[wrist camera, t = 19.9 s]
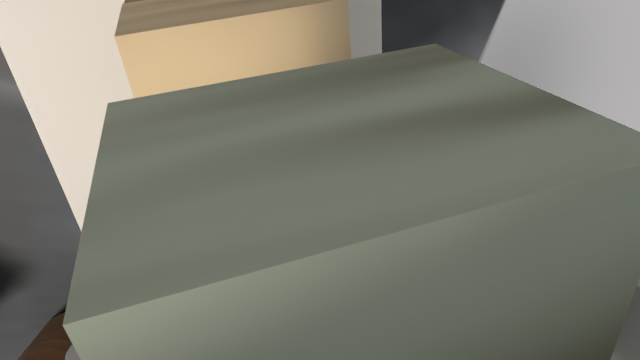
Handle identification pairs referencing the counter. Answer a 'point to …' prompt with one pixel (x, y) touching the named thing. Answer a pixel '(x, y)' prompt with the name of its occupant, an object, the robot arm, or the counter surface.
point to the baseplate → (95, 75)
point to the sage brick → (358, 219)
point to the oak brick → (226, 40)
